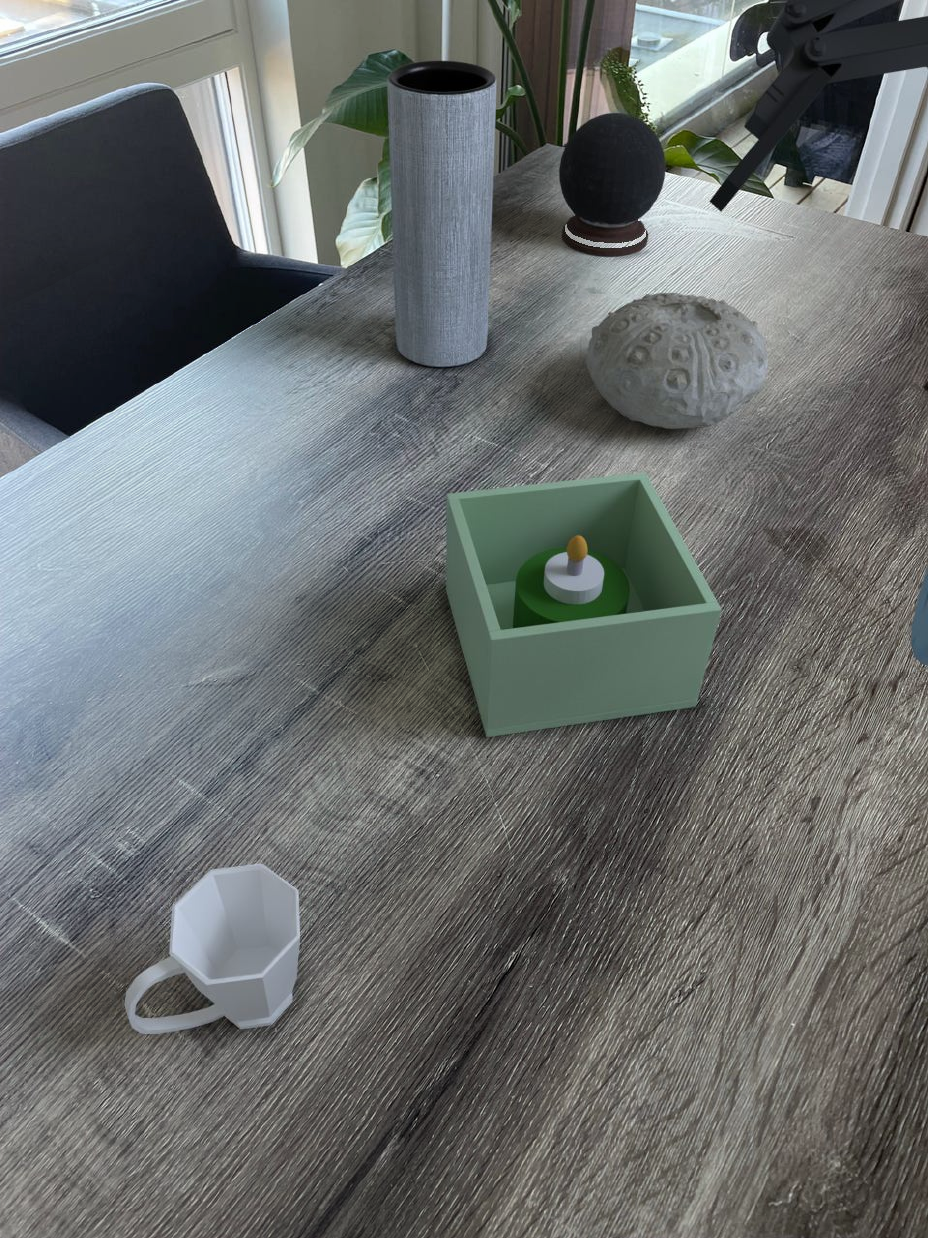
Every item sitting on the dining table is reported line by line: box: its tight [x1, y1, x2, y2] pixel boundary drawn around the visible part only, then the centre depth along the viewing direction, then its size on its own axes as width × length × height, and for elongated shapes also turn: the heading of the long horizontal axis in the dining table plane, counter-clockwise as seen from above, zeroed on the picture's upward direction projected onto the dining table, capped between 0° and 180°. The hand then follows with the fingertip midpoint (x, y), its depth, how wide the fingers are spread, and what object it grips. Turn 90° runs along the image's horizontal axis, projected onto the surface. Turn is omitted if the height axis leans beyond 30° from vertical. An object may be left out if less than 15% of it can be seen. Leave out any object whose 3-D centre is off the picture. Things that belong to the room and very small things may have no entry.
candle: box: [513, 535, 630, 628], centre depth 73 cm, size 8×8×10 cm
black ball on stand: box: [558, 112, 667, 258], centre depth 125 cm, size 13×13×15 cm
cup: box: [124, 862, 301, 1035], centre depth 53 cm, size 7×10×8 cm
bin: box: [445, 471, 723, 738], centre depth 74 cm, size 16×16×10 cm
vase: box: [386, 60, 498, 368], centre depth 100 cm, size 10×10×27 cm
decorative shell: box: [585, 292, 769, 430], centre depth 99 cm, size 18×18×10 cm
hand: (833, 292), depth 46 cm, fingers open, 13 cm apart
